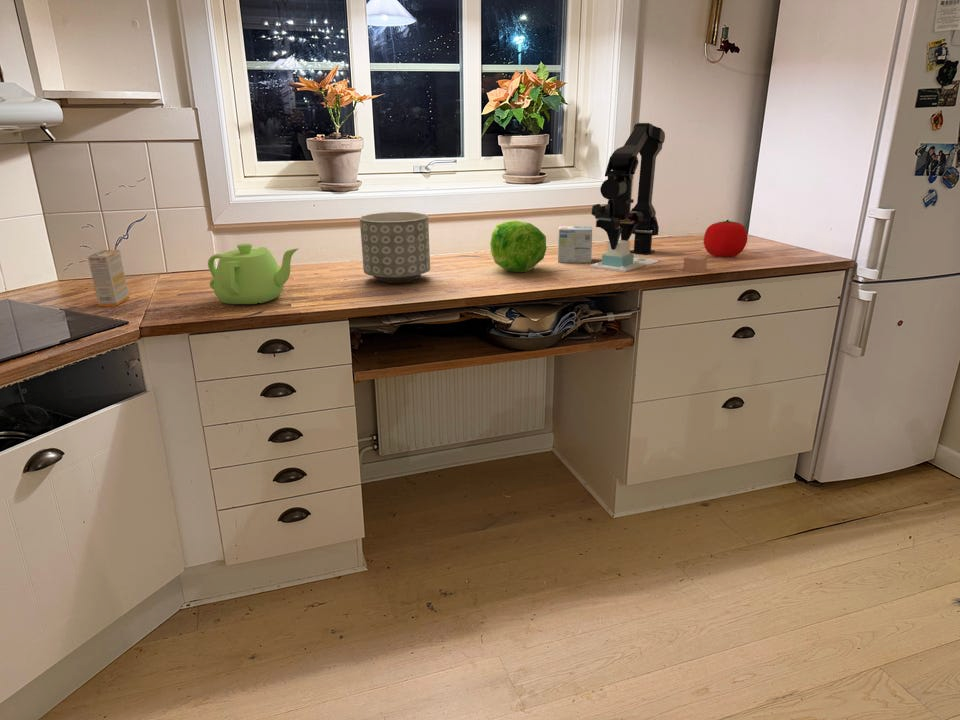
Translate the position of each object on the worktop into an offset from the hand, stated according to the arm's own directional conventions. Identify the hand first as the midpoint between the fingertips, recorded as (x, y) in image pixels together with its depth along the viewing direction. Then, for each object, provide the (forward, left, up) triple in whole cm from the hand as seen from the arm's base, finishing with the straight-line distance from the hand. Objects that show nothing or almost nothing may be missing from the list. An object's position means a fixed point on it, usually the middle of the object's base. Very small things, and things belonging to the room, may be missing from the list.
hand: (618, 248), depth 207 cm
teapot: (+91, -55, -6) cm, 107 cm away
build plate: (0, 0, -6) cm, 6 cm away
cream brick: (0, 0, -2) cm, 2 cm away
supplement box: (+116, -82, -6) cm, 142 cm away
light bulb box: (+1, -15, -6) cm, 16 cm away
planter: (+54, -41, -6) cm, 68 cm away
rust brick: (-9, +21, -6) cm, 24 cm away
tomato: (-34, +20, -6) cm, 40 cm away
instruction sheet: (-10, +2, -6) cm, 12 cm away
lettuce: (+23, -22, -6) cm, 32 cm away
